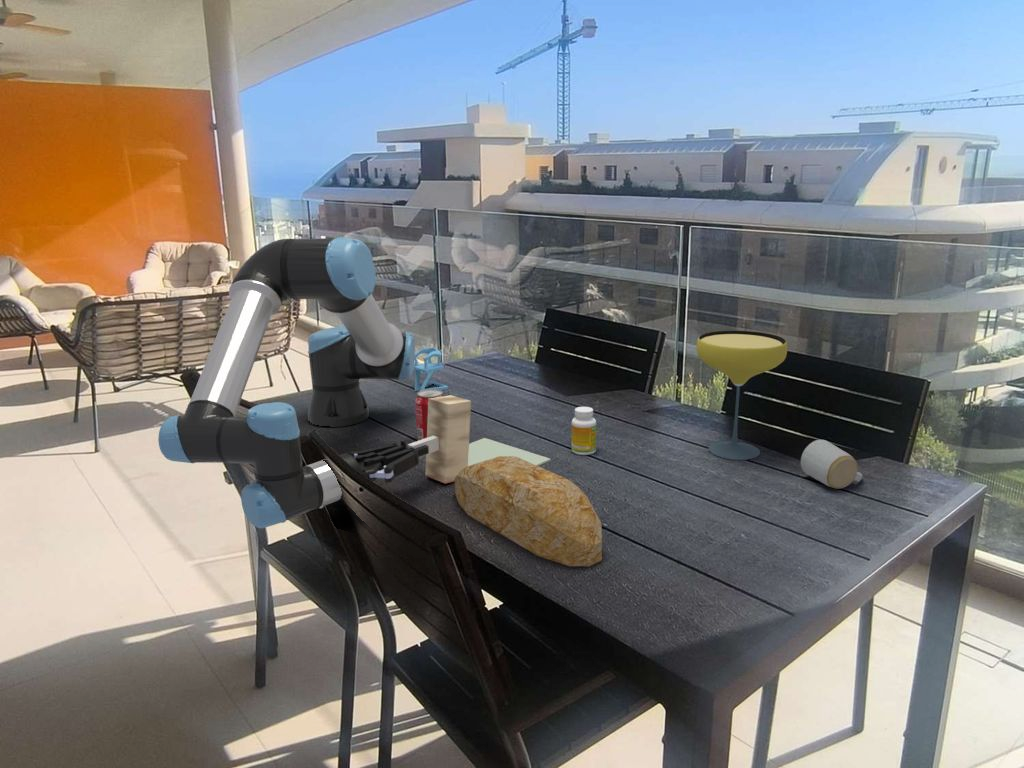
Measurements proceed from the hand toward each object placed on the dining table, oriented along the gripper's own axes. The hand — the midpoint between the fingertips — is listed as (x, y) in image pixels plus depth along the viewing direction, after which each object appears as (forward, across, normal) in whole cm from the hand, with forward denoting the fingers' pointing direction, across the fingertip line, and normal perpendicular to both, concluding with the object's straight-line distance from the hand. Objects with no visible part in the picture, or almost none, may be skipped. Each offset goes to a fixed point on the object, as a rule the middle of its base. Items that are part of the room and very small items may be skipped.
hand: (436, 442), depth 141 cm
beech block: (+3, 0, -8) cm, 8 cm away
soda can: (+14, -18, -9) cm, 25 cm away
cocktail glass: (+54, +36, -9) cm, 65 cm away
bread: (-2, +25, -9) cm, 26 cm away
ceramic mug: (+51, +58, -9) cm, 78 cm away
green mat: (+15, 0, -8) cm, 18 cm away
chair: (+42, -52, -9) cm, 68 cm away
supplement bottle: (+32, +12, -9) cm, 35 cm away
